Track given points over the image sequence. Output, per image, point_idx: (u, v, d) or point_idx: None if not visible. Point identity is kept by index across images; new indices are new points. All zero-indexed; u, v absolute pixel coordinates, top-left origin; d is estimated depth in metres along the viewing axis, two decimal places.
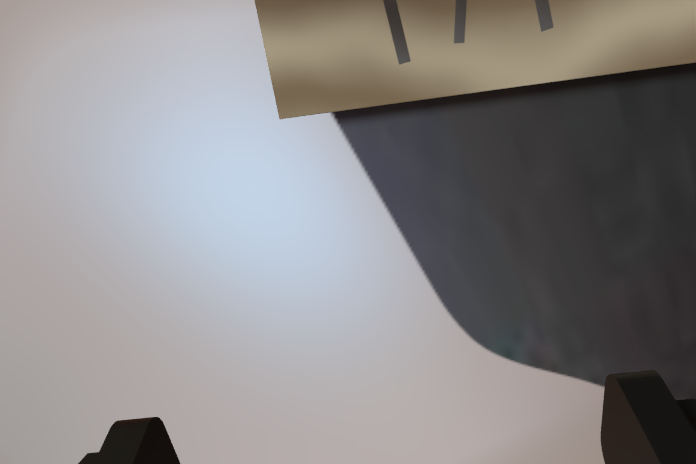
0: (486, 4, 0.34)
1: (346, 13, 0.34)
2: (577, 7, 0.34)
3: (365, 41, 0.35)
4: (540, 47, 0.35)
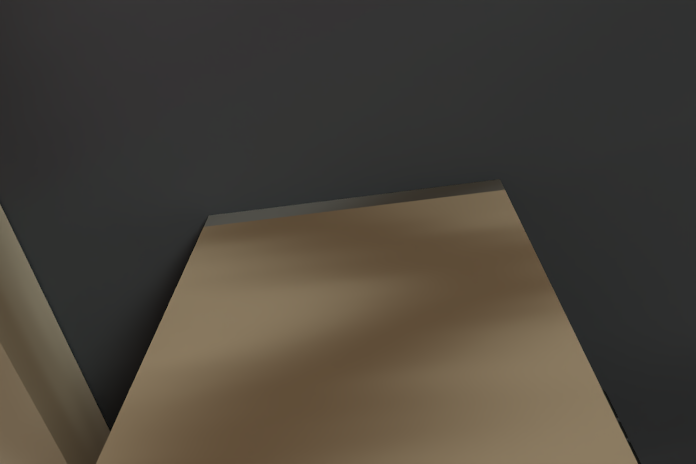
0: None
1: None
2: None
3: None
4: None
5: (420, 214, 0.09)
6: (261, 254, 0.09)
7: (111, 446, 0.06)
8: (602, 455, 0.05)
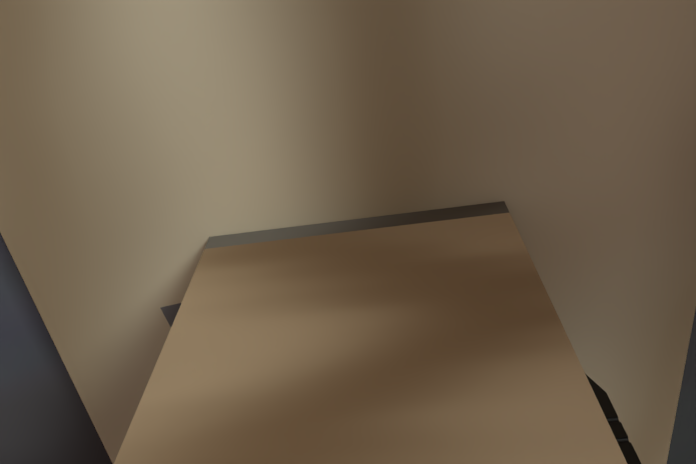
0: None
1: (309, 153, 0.10)
2: None
3: (221, 213, 0.10)
4: None
5: (424, 238, 0.09)
6: (263, 279, 0.09)
7: None
8: None
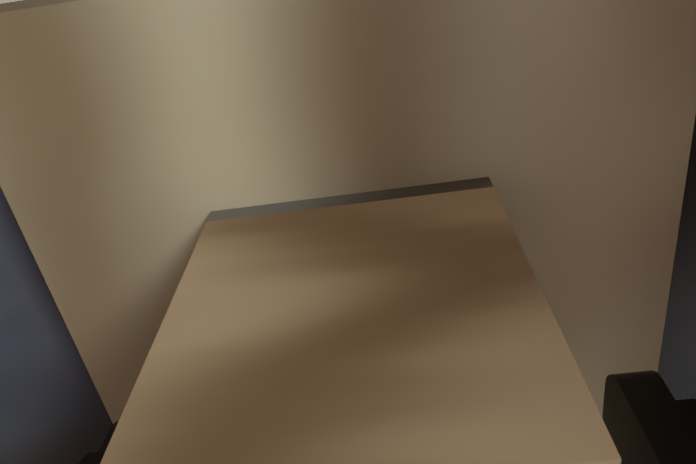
0: None
1: None
2: None
3: None
4: None
5: (413, 210, 0.10)
6: (262, 247, 0.10)
7: (124, 423, 0.07)
8: (577, 426, 0.06)
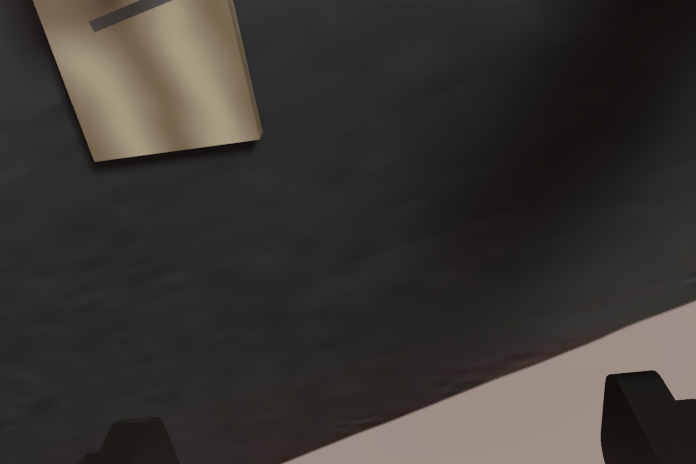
0: None
1: None
2: (114, 50, 0.39)
3: None
4: (75, 23, 0.38)
5: None
6: None
7: None
8: None
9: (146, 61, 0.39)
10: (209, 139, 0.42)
